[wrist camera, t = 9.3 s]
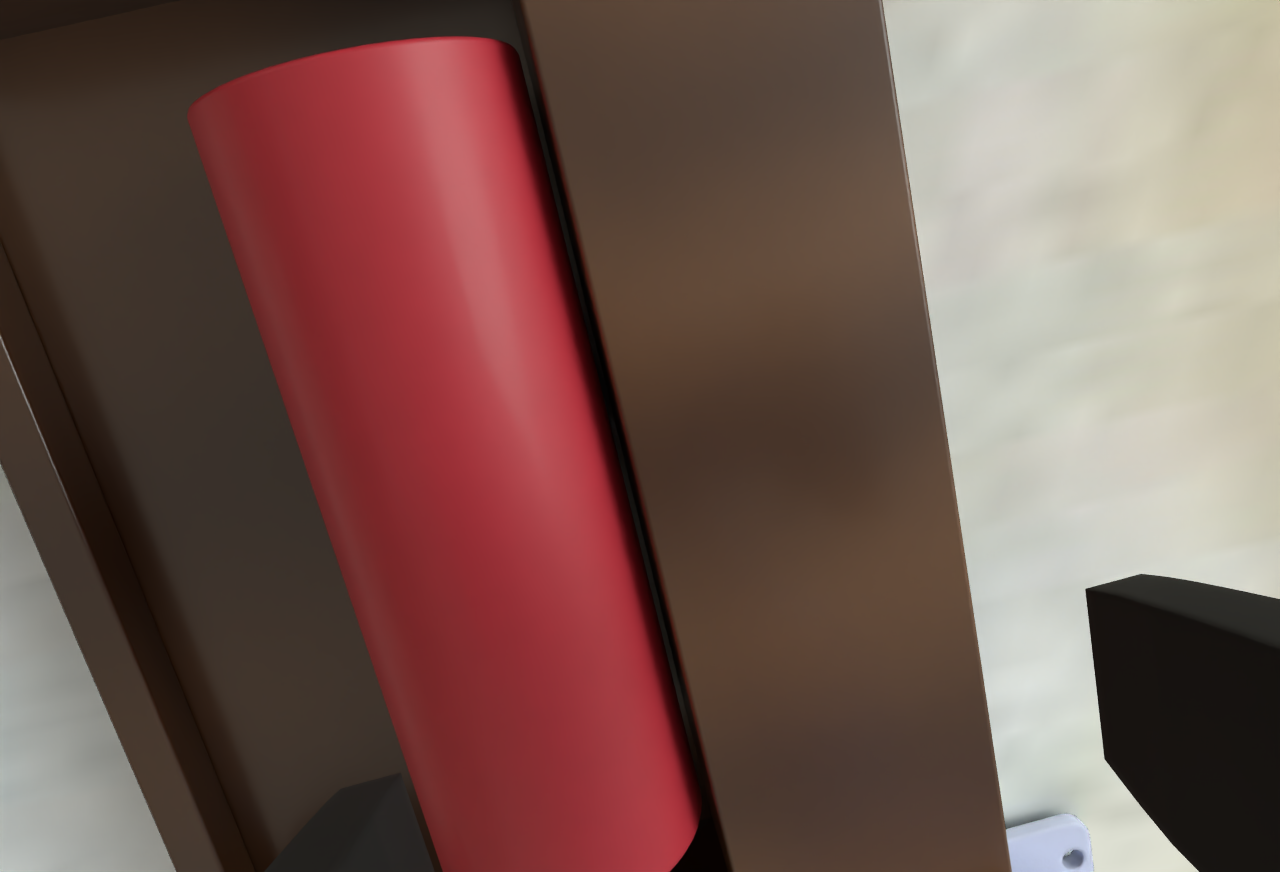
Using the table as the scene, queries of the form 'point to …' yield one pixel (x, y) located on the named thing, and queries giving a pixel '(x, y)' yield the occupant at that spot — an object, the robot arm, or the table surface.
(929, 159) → the table surface
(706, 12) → the dark wooden tray
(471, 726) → the red cylinder
